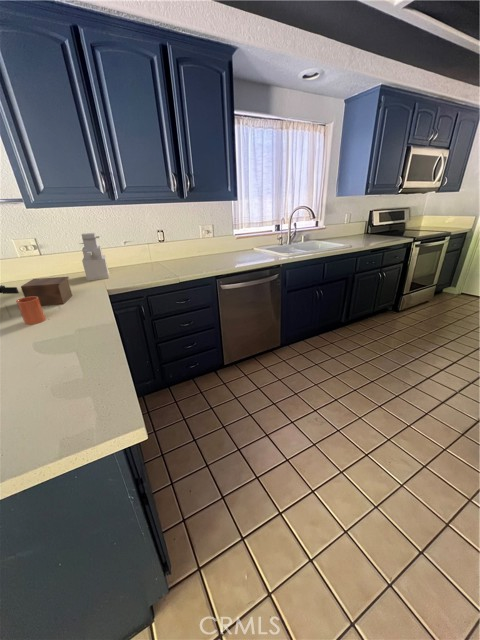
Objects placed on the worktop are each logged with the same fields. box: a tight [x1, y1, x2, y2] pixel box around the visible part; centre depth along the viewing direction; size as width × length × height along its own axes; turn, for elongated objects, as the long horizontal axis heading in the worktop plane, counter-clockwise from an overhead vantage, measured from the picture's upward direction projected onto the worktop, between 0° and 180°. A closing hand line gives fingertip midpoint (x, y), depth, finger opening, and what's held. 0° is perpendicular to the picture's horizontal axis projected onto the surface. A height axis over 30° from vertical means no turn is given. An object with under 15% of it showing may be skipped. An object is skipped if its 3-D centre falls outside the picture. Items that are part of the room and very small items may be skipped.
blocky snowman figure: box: [79, 232, 110, 282], centre depth 173 cm, size 13×24×28 cm, turn 24°
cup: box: [15, 296, 47, 326], centre depth 112 cm, size 7×7×10 cm
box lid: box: [20, 276, 70, 289], centre depth 133 cm, size 16×14×1 cm
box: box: [20, 278, 73, 307], centre depth 135 cm, size 16×14×10 cm
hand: (4, 295), depth 110 cm, fingers open, 13 cm apart
